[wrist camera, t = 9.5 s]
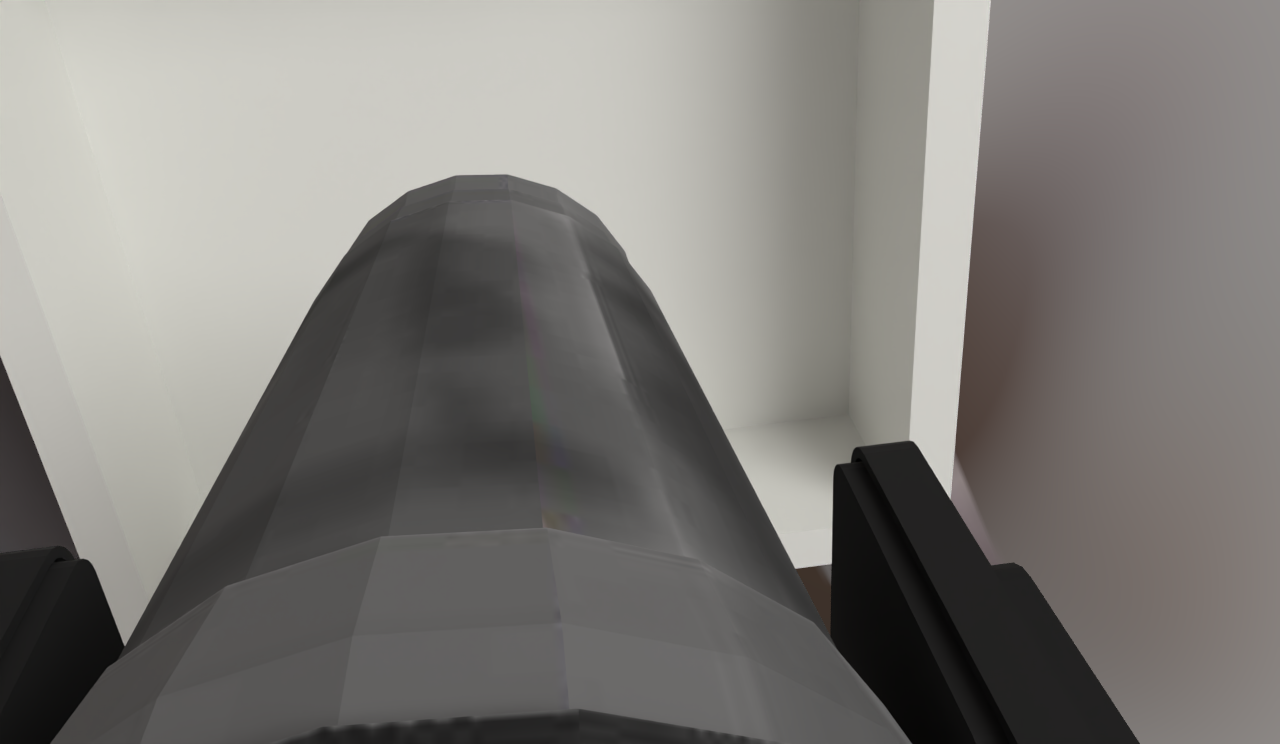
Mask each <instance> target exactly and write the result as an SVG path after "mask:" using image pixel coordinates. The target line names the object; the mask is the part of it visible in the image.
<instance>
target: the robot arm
mask: <svg viewBox="0 0 1280 744" xmlns="http://www.w3.org/2000/svg"><path fill="white" fill-rule="evenodd" d="M830 637H831V638H832V640H833V642H834V644H835V646H836V648H837V650H838V652H839V653H840V654H841V655H842V656H843V657H844V659H845V660H846V661H847V662H848V663H849V664H850V666H851V667H852V668H853V669H854V670H855V671H856V673H857V674H858V675H859V676H860V677H861V679H862V680H863V681H864V682H865V683H866V684H867V686H868V687H869V688H870V689H871V690H872V691H873V693H874V694H875V695H876V696H877V697H878V699H879V700H880V701H881V702H882V703H883V704H884V706H885V707H886V708H887V710H888V711H889V713H890V714H891V715H892V717H893V718H894V719H895V721H896V722H897V724H898V725H899V726H900V728H901V729H902V731H903V732H904V733H905V735H906V736H907V738H908V739H909V740H910V742H911V743H912V744H1140V743H1139V742H1138V740H1137V739H1136V737H1135V736H1134V734H1133V733H1132V731H1131V730H1130V728H1129V726H1128V725H1127V723H1126V722H1125V720H1124V719H1123V717H1122V716H1121V714H1120V713H1119V711H1118V710H1117V708H1116V707H1115V705H1114V704H1113V702H1112V701H1111V699H1110V697H1109V696H1108V694H1107V693H1106V691H1105V690H1104V688H1103V687H1102V685H1101V684H1100V682H1099V681H1098V679H1097V678H1096V676H1095V675H1094V673H1093V671H1092V670H1091V668H1090V667H1089V665H1088V664H1087V663H1086V661H1085V659H1084V658H1083V656H1082V655H1081V653H1080V652H1079V650H1078V649H1077V647H1076V645H1075V644H1074V642H1073V641H1072V639H1071V638H1070V636H1069V635H1068V633H1067V632H1066V630H1065V629H1064V627H1063V626H1062V624H1061V622H1060V621H1059V620H1058V618H1057V616H1056V615H1055V613H1054V612H1053V610H1052V609H1051V607H1050V606H1049V604H1048V603H1047V601H1046V600H1045V598H1044V596H1043V595H1042V593H1041V592H1040V590H1039V589H1038V587H1037V586H1036V584H1035V583H1034V581H1033V580H1032V578H1031V577H1030V576H1029V574H1028V573H1027V572H1026V571H1025V570H1024V569H1023V567H1021V566H1019V565H1017V564H1015V563H1007V564H999V565H992V566H991V565H990V563H989V561H988V560H987V558H986V557H985V555H984V553H983V552H982V550H981V548H980V547H979V545H978V544H977V542H976V540H975V539H974V537H973V535H972V534H971V532H970V531H969V529H968V527H967V526H966V524H965V522H964V521H963V519H962V518H961V516H960V514H959V513H958V511H957V509H956V508H955V506H954V505H953V503H952V501H951V500H950V498H949V496H948V495H947V493H946V491H945V490H944V488H943V487H942V485H941V483H940V482H939V480H938V478H937V477H936V475H935V474H934V472H933V470H932V469H931V467H930V465H929V464H928V462H927V461H926V459H925V457H924V456H923V454H922V452H921V451H920V449H919V448H918V446H917V445H916V444H915V443H914V442H913V441H910V440H909V441H901V442H893V443H885V444H877V445H869V446H860V447H856V448H855V449H854V450H853V453H852V456H851V463H844V464H837V465H836V466H835V468H834V474H833V516H832V576H831V635H830ZM124 647H125V646H124V643H123V641H122V638H121V636H120V633H119V630H118V628H117V625H116V623H115V620H114V617H113V615H112V612H111V609H110V607H109V604H108V602H107V599H106V596H105V594H104V591H103V589H102V586H101V583H100V581H99V578H98V576H97V573H96V571H95V569H94V567H93V565H92V563H91V562H90V561H89V560H87V559H76V560H74V558H73V556H72V554H71V553H70V552H69V551H68V550H67V549H66V548H65V547H61V546H54V547H46V548H38V549H30V550H22V551H14V552H6V553H0V744H50V743H51V742H52V741H53V739H54V738H55V737H56V735H57V734H58V733H59V731H60V730H61V729H62V727H63V726H64V725H65V723H66V722H67V720H68V719H69V718H70V716H71V715H72V714H73V712H74V711H75V710H76V708H77V707H78V706H79V704H80V703H81V702H82V700H83V699H84V698H85V696H86V695H87V694H88V692H89V691H90V690H91V688H92V687H93V686H94V684H95V683H96V682H97V680H98V679H99V678H100V676H101V675H102V674H103V672H104V671H105V670H106V668H107V667H109V666H110V665H112V664H113V663H115V662H116V661H117V660H118V658H119V656H120V655H121V653H122V651H123V649H124Z"/></svg>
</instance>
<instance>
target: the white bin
mask: <svg viewBox="0 0 1280 744" xmlns="http://www.w3.org/2000/svg"><path fill="white" fill-rule="evenodd" d="M990 4H991V0H0V356H1V359H2V361H3V364H4V366H5V369H6V371H7V374H8V377H9V379H10V382H11V384H12V387H13V389H14V392H15V394H16V397H17V399H18V402H19V405H20V407H21V410H22V412H23V415H24V417H25V420H26V422H27V425H28V427H29V430H30V433H31V435H32V438H33V440H34V443H35V445H36V448H37V450H38V453H39V455H40V458H41V461H42V463H43V466H44V468H45V471H46V473H47V476H48V478H49V481H50V484H51V486H52V489H53V491H54V494H55V496H56V499H57V501H58V504H59V506H60V509H61V512H62V514H63V517H64V519H65V522H66V524H67V527H68V529H69V532H70V534H71V537H72V540H73V542H74V545H75V547H76V550H77V552H78V555H79V557H80V559H87V560H89V561H90V562H91V563H92V565H93V567H94V569H95V571H96V573H97V576H98V578H99V581H100V583H101V586H102V589H103V591H104V594H105V596H106V599H107V602H108V604H109V607H110V609H111V612H112V615H113V617H114V620H115V623H116V625H117V628H118V630H119V633H120V636H121V638H122V641H123V643H124V646H125V645H126V644H127V642H128V640H129V638H130V636H131V634H132V633H133V631H134V629H135V627H136V625H137V623H138V622H139V620H140V618H141V616H142V614H143V612H144V611H145V609H146V607H147V605H148V603H149V602H150V600H151V598H152V596H153V594H154V592H155V591H156V589H157V587H158V585H159V583H160V581H161V580H162V578H163V576H164V574H165V572H166V570H167V569H168V567H169V565H170V563H171V561H172V559H173V558H174V556H175V554H176V552H177V550H178V548H179V547H180V545H181V543H182V541H183V539H184V538H185V536H186V534H187V532H188V530H189V528H190V527H191V525H192V523H193V521H194V519H195V517H196V516H197V514H198V512H199V510H200V508H201V506H202V505H203V503H204V501H205V499H206V497H207V495H208V494H209V492H210V490H211V488H212V486H213V484H214V483H215V481H216V479H217V477H218V475H219V473H220V472H221V470H222V468H223V466H224V464H225V463H226V461H227V459H228V457H229V455H230V453H231V452H232V450H233V448H234V446H235V444H236V442H237V441H238V439H239V437H240V435H241V433H242V431H243V430H244V428H245V426H246V424H247V422H248V420H249V419H250V417H251V415H252V413H253V411H254V409H255V408H256V406H257V404H258V402H259V400H260V399H261V397H262V395H263V393H264V391H265V389H266V388H267V386H268V384H269V382H270V380H271V378H272V377H273V375H274V373H275V371H276V369H277V367H278V366H279V364H280V362H281V360H282V358H283V356H284V355H285V353H286V351H287V349H288V347H289V345H290V344H291V342H292V340H293V338H294V336H295V335H296V333H297V331H298V329H299V327H300V325H301V324H302V322H303V320H304V318H305V316H306V314H307V313H308V311H309V309H310V307H311V305H312V303H313V302H314V300H315V298H316V297H317V295H318V294H319V293H320V291H321V290H322V288H323V287H324V285H325V284H326V282H327V281H328V279H329V278H330V276H331V275H332V273H333V272H334V270H335V269H336V267H337V266H338V264H339V263H340V261H341V260H342V258H343V257H344V255H345V254H346V253H347V252H348V250H349V249H350V247H351V246H352V244H353V243H354V242H355V240H356V239H357V237H358V236H359V234H360V233H361V231H362V230H363V228H364V227H365V225H366V224H367V222H368V221H369V220H370V219H371V218H373V217H374V216H375V215H377V214H378V213H379V212H381V211H382V210H383V209H385V208H386V207H388V206H389V205H390V204H392V203H393V202H394V201H396V200H397V199H398V198H400V197H401V196H402V195H404V194H405V193H406V192H408V191H410V190H413V189H416V188H419V187H422V186H425V185H428V184H431V183H434V182H437V181H440V180H443V179H446V178H449V177H452V176H455V175H496V174H508V175H512V176H515V177H519V178H522V179H526V180H529V181H533V182H536V183H540V184H543V185H546V186H550V187H553V188H556V189H558V190H560V191H561V192H563V193H564V194H566V195H567V196H569V197H570V198H572V199H573V200H575V201H576V202H578V203H579V204H581V205H582V206H584V207H585V208H587V209H588V210H590V211H591V212H593V213H594V214H596V215H597V216H598V217H599V219H600V220H601V221H602V223H603V224H604V225H605V226H606V228H607V229H608V230H609V232H610V233H611V234H612V235H613V237H614V238H615V239H616V240H617V242H618V243H619V244H620V246H621V247H622V248H623V249H624V251H625V252H626V255H627V258H628V261H629V263H630V264H631V266H632V267H633V268H634V270H635V271H636V272H637V273H638V275H639V276H640V277H641V278H642V280H643V281H644V282H645V284H646V285H647V286H648V287H649V289H650V290H651V292H652V294H653V296H654V297H655V299H656V301H657V303H658V305H659V307H660V309H661V311H662V313H663V315H664V317H665V319H666V321H667V323H668V324H669V326H670V328H671V330H672V332H673V334H674V336H675V338H676V340H677V342H678V344H679V346H680V348H681V349H682V351H683V353H684V355H685V357H686V359H687V361H688V363H689V365H690V367H691V369H692V371H693V373H694V375H695V376H696V378H697V380H698V382H699V384H700V386H701V388H702V390H703V392H704V394H705V396H706V398H707V400H708V401H709V403H710V405H711V407H712V409H713V411H714V413H715V415H716V417H717V419H718V421H719V423H720V425H721V427H722V428H723V430H724V432H725V434H726V436H727V438H728V440H729V442H730V444H731V446H732V448H733V450H734V452H735V454H736V455H737V457H738V459H739V461H740V463H741V465H742V467H743V469H744V471H745V473H746V475H747V477H748V479H749V480H750V482H751V484H752V486H753V488H754V490H755V492H756V494H757V496H758V498H759V500H760V502H761V504H762V506H763V507H764V509H765V511H766V513H767V515H768V517H769V519H770V521H771V523H772V525H773V527H774V529H775V531H776V533H777V534H778V536H779V538H780V540H781V542H782V544H783V546H784V548H785V550H786V552H787V554H788V556H789V558H790V559H791V561H792V563H793V565H794V567H795V569H796V568H804V567H811V566H819V565H826V564H832V516H833V474H834V468H835V466H836V465H837V464H844V463H851V456H852V453H853V450H854V449H855V448H856V447H860V446H869V445H877V444H885V443H893V442H901V441H909V440H910V441H913V442H914V443H915V444H916V445H917V446H918V448H919V449H920V451H921V452H922V454H923V456H924V457H925V459H926V461H927V462H928V464H929V465H930V467H931V469H932V470H933V472H934V474H935V475H936V477H937V478H938V480H939V482H940V483H941V485H942V487H943V488H944V490H945V491H946V493H947V495H948V496H949V498H950V500H951V487H952V475H953V463H954V450H955V437H956V425H957V413H958V401H959V387H960V375H961V363H962V351H963V339H964V326H965V313H966V300H967V289H968V277H969V264H970V252H971V239H972V226H973V215H974V202H975V190H976V177H977V165H978V152H979V140H980V128H981V115H982V103H983V91H984V78H985V66H986V54H987V41H988V28H989V16H990Z"/></svg>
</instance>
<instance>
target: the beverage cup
mask: <svg viewBox="0 0 1280 744" xmlns="http://www.w3.org/2000/svg"><path fill="white" fill-rule="evenodd" d="M50 744H912V743H911V742H910V740H909V739H908V738H907V736H906V735H905V733H904V732H903V731H902V729H901V728H900V726H899V725H898V724H897V722H896V721H895V719H894V718H893V717H892V715H891V714H890V713H889V711H888V710H887V708H886V707H885V706H884V704H883V703H882V702H881V701H880V700H879V699H878V697H877V696H876V695H875V694H874V693H873V691H872V690H871V689H870V688H869V687H868V686H867V684H866V683H865V682H864V681H863V680H862V679H861V677H860V676H859V675H858V674H857V673H856V671H855V670H854V669H853V668H852V667H851V666H850V664H849V663H848V662H847V661H846V660H845V659H844V657H843V656H842V655H841V654H840V653H839V652H838V650H837V648H836V646H835V644H834V642H833V640H832V638H831V637H830V635H829V633H828V631H827V629H826V627H825V625H824V623H823V621H822V619H821V617H820V615H819V613H818V612H817V610H816V608H815V606H814V604H813V602H812V600H811V598H810V596H809V594H808V592H807V590H806V588H805V586H804V585H803V583H802V581H801V579H800V577H799V575H798V573H797V571H796V569H795V567H794V565H793V563H792V561H791V559H790V558H789V556H788V554H787V552H786V550H785V548H784V546H783V544H782V542H781V540H780V538H779V536H778V534H777V533H776V531H775V529H774V527H773V525H772V523H771V521H770V519H769V517H768V515H767V513H766V511H765V509H764V507H763V506H762V504H761V502H760V500H759V498H758V496H757V494H756V492H755V490H754V488H753V486H752V484H751V482H750V480H749V479H748V477H747V475H746V473H745V471H744V469H743V467H742V465H741V463H740V461H739V459H738V457H737V455H736V454H735V452H734V450H733V448H732V446H731V444H730V442H729V440H728V438H727V436H726V434H725V432H724V430H723V428H722V427H721V425H720V423H719V421H718V419H717V417H716V415H715V413H714V411H713V409H712V407H711V405H710V403H709V401H708V400H707V398H706V396H705V394H704V392H703V390H702V388H701V386H700V384H699V382H698V380H697V378H696V376H695V375H694V373H693V371H692V369H691V367H690V365H689V363H688V361H687V359H686V357H685V355H684V353H683V351H682V349H681V348H680V346H679V344H678V342H677V340H676V338H675V336H674V334H673V332H672V330H671V328H670V326H669V324H668V323H667V321H666V319H665V317H664V315H663V313H662V311H661V309H660V307H659V305H658V303H657V301H656V299H655V297H654V296H653V294H652V292H651V290H650V289H649V287H648V286H647V285H646V284H645V282H644V281H643V280H642V278H641V277H640V276H639V275H638V273H637V272H636V271H635V270H634V268H633V267H632V266H631V264H630V263H629V261H628V258H627V255H626V252H625V251H624V249H623V248H622V247H621V246H620V244H619V243H618V242H617V240H616V239H615V238H614V237H613V235H612V234H611V233H610V232H609V230H608V229H607V228H606V226H605V225H604V224H603V223H602V221H601V220H600V219H599V217H598V216H597V215H596V214H594V213H593V212H591V211H590V210H588V209H587V208H585V207H584V206H582V205H581V204H579V203H578V202H576V201H575V200H573V199H572V198H570V197H569V196H567V195H566V194H564V193H563V192H561V191H560V190H558V189H556V188H553V187H550V186H546V185H543V184H540V183H536V182H533V181H529V180H526V179H522V178H519V177H515V176H512V175H508V174H496V175H455V176H452V177H449V178H446V179H443V180H440V181H437V182H434V183H431V184H428V185H425V186H422V187H419V188H416V189H413V190H410V191H408V192H406V193H405V194H404V195H402V196H401V197H400V198H398V199H397V200H396V201H394V202H393V203H392V204H390V205H389V206H388V207H386V208H385V209H383V210H382V211H381V212H379V213H378V214H377V215H375V216H374V217H373V218H371V219H370V220H369V221H368V222H367V224H366V225H365V227H364V228H363V230H362V231H361V233H360V234H359V236H358V237H357V239H356V240H355V242H354V243H353V244H352V246H351V247H350V249H349V250H348V252H347V253H346V254H345V255H344V257H343V258H342V260H341V261H340V263H339V264H338V266H337V267H336V269H335V270H334V272H333V273H332V275H331V276H330V278H329V279H328V281H327V282H326V284H325V285H324V287H323V288H322V290H321V291H320V293H319V294H318V295H317V297H316V298H315V300H314V302H313V303H312V305H311V307H310V309H309V311H308V313H307V314H306V316H305V318H304V320H303V322H302V324H301V325H300V327H299V329H298V331H297V333H296V335H295V336H294V338H293V340H292V342H291V344H290V345H289V347H288V349H287V351H286V353H285V355H284V356H283V358H282V360H281V362H280V364H279V366H278V367H277V369H276V371H275V373H274V375H273V377H272V378H271V380H270V382H269V384H268V386H267V388H266V389H265V391H264V393H263V395H262V397H261V399H260V400H259V402H258V404H257V406H256V408H255V409H254V411H253V413H252V415H251V417H250V419H249V420H248V422H247V424H246V426H245V428H244V430H243V431H242V433H241V435H240V437H239V439H238V441H237V442H236V444H235V446H234V448H233V450H232V452H231V453H230V455H229V457H228V459H227V461H226V463H225V464H224V466H223V468H222V470H221V472H220V473H219V475H218V477H217V479H216V481H215V483H214V484H213V486H212V488H211V490H210V492H209V494H208V495H207V497H206V499H205V501H204V503H203V505H202V506H201V508H200V510H199V512H198V514H197V516H196V517H195V519H194V521H193V523H192V525H191V527H190V528H189V530H188V532H187V534H186V536H185V538H184V539H183V541H182V543H181V545H180V547H179V548H178V550H177V552H176V554H175V556H174V558H173V559H172V561H171V563H170V565H169V567H168V569H167V570H166V572H165V574H164V576H163V578H162V580H161V581H160V583H159V585H158V587H157V589H156V591H155V592H154V594H153V596H152V598H151V600H150V602H149V603H148V605H147V607H146V609H145V611H144V612H143V614H142V616H141V618H140V620H139V622H138V623H137V625H136V627H135V629H134V631H133V633H132V634H131V636H130V638H129V640H128V642H127V644H126V645H125V647H124V649H123V651H122V653H121V655H120V656H119V658H118V660H117V661H116V662H115V663H113V664H112V665H110V666H109V667H107V668H106V670H105V671H104V672H103V674H102V675H101V676H100V678H99V679H98V680H97V682H96V683H95V684H94V686H93V687H92V688H91V690H90V691H89V692H88V694H87V695H86V696H85V698H84V699H83V700H82V702H81V703H80V704H79V706H78V707H77V708H76V710H75V711H74V712H73V714H72V715H71V716H70V718H69V719H68V720H67V722H66V723H65V725H64V726H63V727H62V729H61V730H60V731H59V733H58V734H57V735H56V737H55V738H54V739H53V741H52V742H51V743H50Z"/></svg>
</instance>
